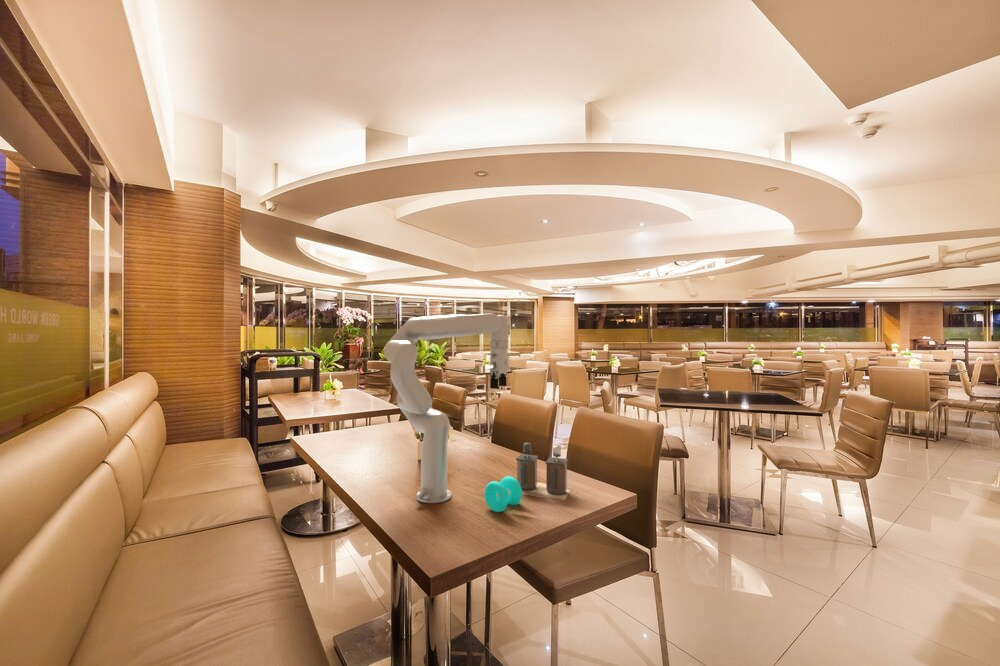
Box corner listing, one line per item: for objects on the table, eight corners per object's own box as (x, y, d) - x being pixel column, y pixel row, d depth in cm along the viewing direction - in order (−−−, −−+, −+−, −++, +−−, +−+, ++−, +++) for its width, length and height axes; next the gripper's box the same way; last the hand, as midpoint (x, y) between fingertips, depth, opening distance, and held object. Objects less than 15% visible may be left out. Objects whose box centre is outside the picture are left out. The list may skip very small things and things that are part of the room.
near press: (562, 498, 148) (562, 466, 148) (543, 495, 150) (543, 463, 150) (567, 489, 156) (567, 458, 157) (549, 487, 159) (549, 456, 159)
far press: (531, 494, 152) (531, 448, 152) (513, 491, 154) (513, 446, 154) (538, 485, 160) (538, 442, 161) (520, 483, 163) (521, 440, 163)
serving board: (564, 503, 146) (564, 500, 146) (511, 495, 153) (511, 492, 153) (571, 489, 159) (571, 486, 159) (522, 483, 166) (522, 480, 166)
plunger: (561, 490, 151) (561, 448, 151) (548, 488, 153) (549, 446, 153) (564, 486, 156) (564, 445, 156) (551, 484, 158) (552, 443, 158)
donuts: (523, 508, 142) (523, 479, 142) (503, 517, 135) (503, 486, 135) (502, 500, 149) (503, 472, 149) (482, 508, 142) (482, 479, 142)
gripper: (500, 345, 159) (499, 390, 159) (514, 345, 176) (513, 385, 175) (482, 345, 162) (481, 389, 162) (497, 344, 178) (497, 384, 178)
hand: (498, 387), depth 169 cm, fingers open, 9 cm apart
